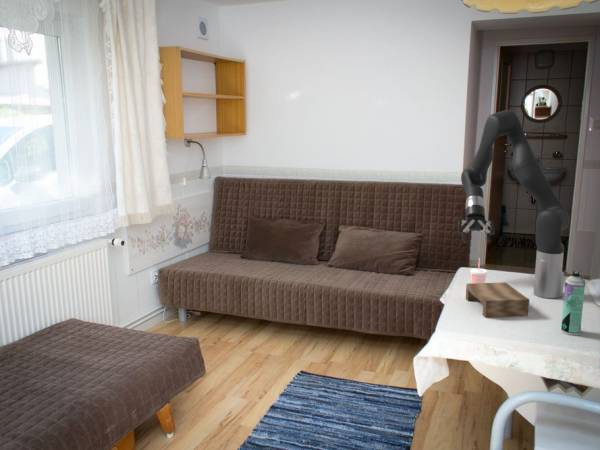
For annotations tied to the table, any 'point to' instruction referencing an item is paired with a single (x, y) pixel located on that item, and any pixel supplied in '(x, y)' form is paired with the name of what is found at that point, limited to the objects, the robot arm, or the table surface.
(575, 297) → the spray can
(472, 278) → the beverage cup
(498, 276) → the table surface
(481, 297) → the walnut shelf stand
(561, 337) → the table surface
